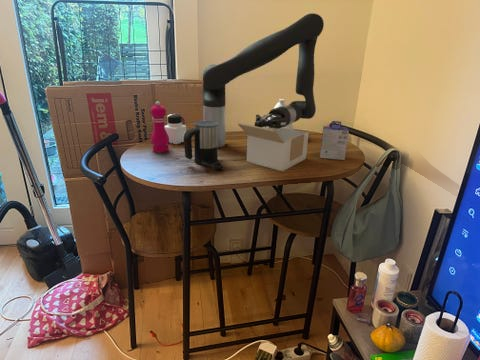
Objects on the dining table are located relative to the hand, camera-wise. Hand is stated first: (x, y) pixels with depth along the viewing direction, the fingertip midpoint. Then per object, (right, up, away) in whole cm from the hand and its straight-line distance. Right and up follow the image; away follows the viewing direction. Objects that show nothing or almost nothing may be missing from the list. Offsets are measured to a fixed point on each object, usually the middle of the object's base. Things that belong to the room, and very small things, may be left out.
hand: (256, 125), depth 119 cm
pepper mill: (-38, -6, +27) cm, 47 cm away
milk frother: (-17, -13, +12) cm, 25 cm away
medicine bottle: (-34, -1, +38) cm, 51 cm away
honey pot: (+13, +2, +50) cm, 51 cm away
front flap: (+2, -2, +4) cm, 4 cm away
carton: (+9, -11, +18) cm, 23 cm away
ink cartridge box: (+32, -9, +24) cm, 41 cm away
